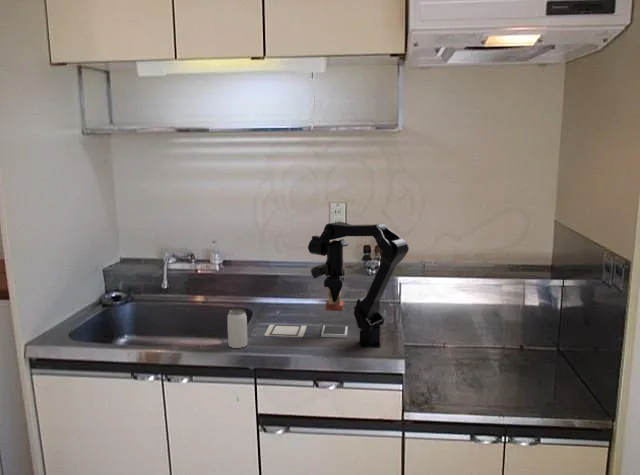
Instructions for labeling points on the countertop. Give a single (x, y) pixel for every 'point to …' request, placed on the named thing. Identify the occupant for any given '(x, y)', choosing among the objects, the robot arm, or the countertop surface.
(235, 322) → the can
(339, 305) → the stamp
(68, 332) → the countertop surface
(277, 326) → the print sheet
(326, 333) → the ink pad
